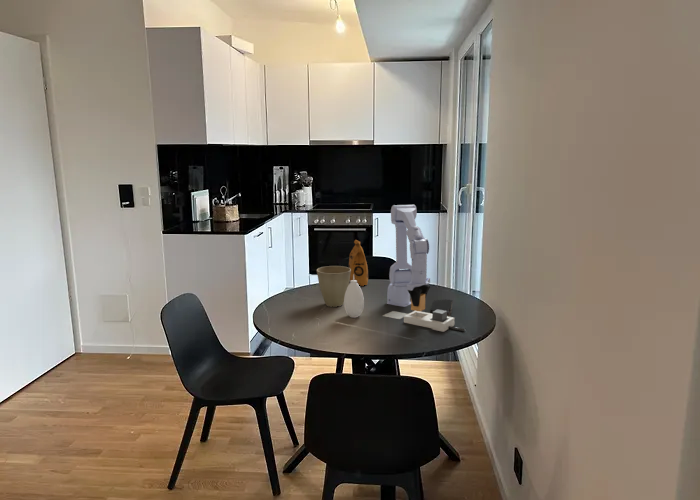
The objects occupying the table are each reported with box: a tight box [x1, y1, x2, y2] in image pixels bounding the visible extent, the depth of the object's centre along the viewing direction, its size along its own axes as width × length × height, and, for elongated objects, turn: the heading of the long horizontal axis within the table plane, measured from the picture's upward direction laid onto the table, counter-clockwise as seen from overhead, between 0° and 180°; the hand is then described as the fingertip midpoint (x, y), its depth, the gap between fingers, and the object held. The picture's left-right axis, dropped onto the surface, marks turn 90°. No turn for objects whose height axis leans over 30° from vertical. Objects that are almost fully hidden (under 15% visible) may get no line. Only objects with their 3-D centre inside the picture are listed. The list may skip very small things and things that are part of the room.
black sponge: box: [429, 299, 453, 317], centre depth 214 cm, size 16×8×4 cm, turn 166°
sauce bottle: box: [343, 274, 365, 318], centre depth 206 cm, size 8×8×18 cm
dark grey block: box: [432, 309, 447, 322], centre depth 194 cm, size 4×4×6 cm
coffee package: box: [348, 239, 369, 287], centre depth 262 cm, size 10×12×22 cm
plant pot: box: [316, 265, 351, 308], centre depth 225 cm, size 15×15×16 cm
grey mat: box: [382, 310, 408, 320], centre depth 209 cm, size 8×8×1 cm
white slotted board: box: [403, 310, 466, 332], centre depth 196 cm, size 23×9×3 cm, turn 53°
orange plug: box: [410, 293, 426, 312], centre depth 199 cm, size 4×4×6 cm
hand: (418, 304), depth 199 cm, fingers closed on orange plug, 4 cm apart
